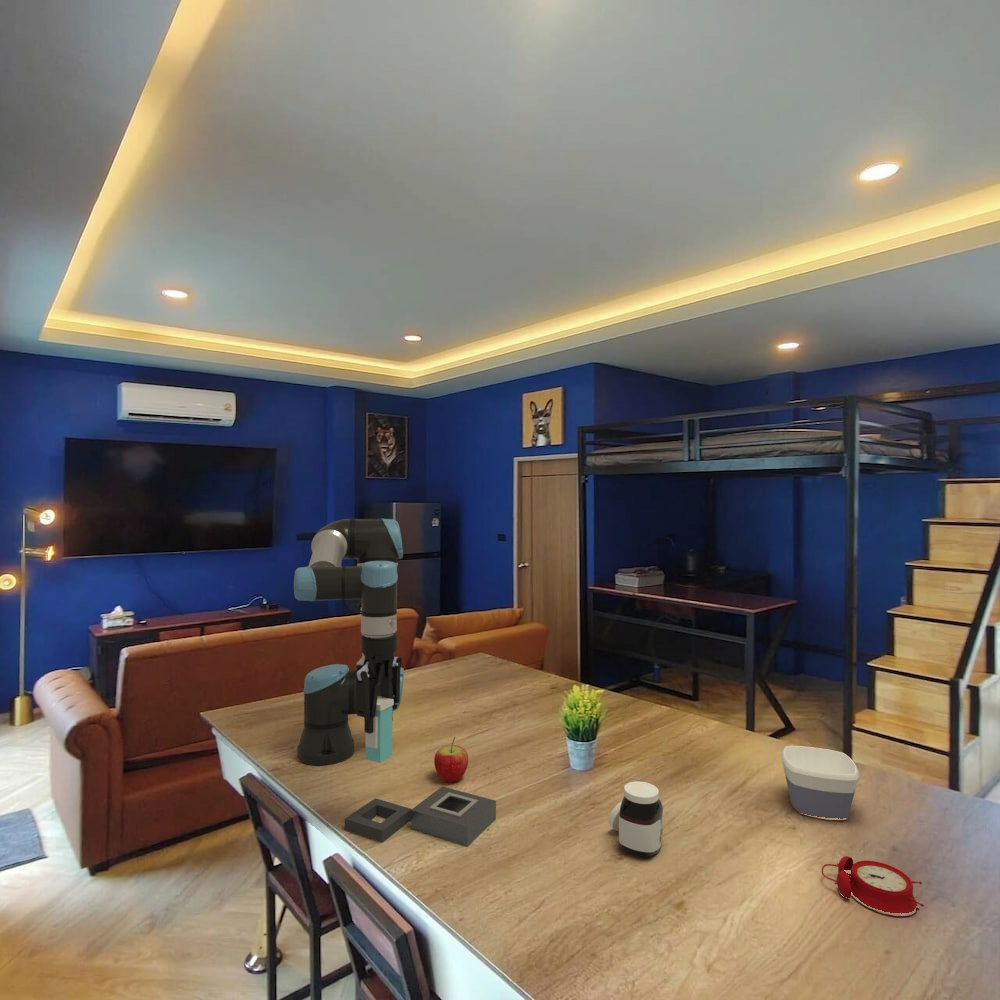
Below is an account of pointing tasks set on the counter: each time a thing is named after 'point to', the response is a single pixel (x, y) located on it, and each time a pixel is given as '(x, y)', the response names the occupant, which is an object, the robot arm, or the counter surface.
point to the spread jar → (639, 819)
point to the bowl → (820, 781)
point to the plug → (382, 732)
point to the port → (453, 815)
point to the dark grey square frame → (375, 830)
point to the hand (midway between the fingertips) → (378, 742)
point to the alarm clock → (876, 885)
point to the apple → (451, 762)
